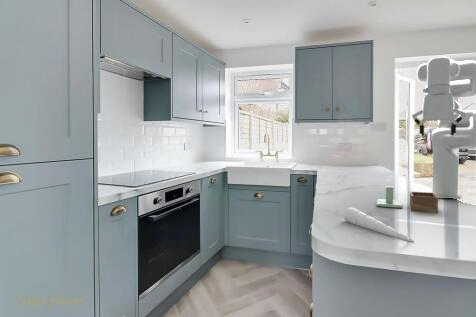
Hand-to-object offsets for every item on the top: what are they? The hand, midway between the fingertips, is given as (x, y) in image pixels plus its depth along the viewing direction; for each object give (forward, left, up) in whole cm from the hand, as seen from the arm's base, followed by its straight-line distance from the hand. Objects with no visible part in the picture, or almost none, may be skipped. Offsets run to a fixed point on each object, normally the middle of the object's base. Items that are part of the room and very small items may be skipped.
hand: (437, 135), depth 119 cm
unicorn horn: (+47, -19, -28) cm, 58 cm away
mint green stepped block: (+10, -16, -28) cm, 33 cm away
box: (+13, -5, -28) cm, 31 cm away
